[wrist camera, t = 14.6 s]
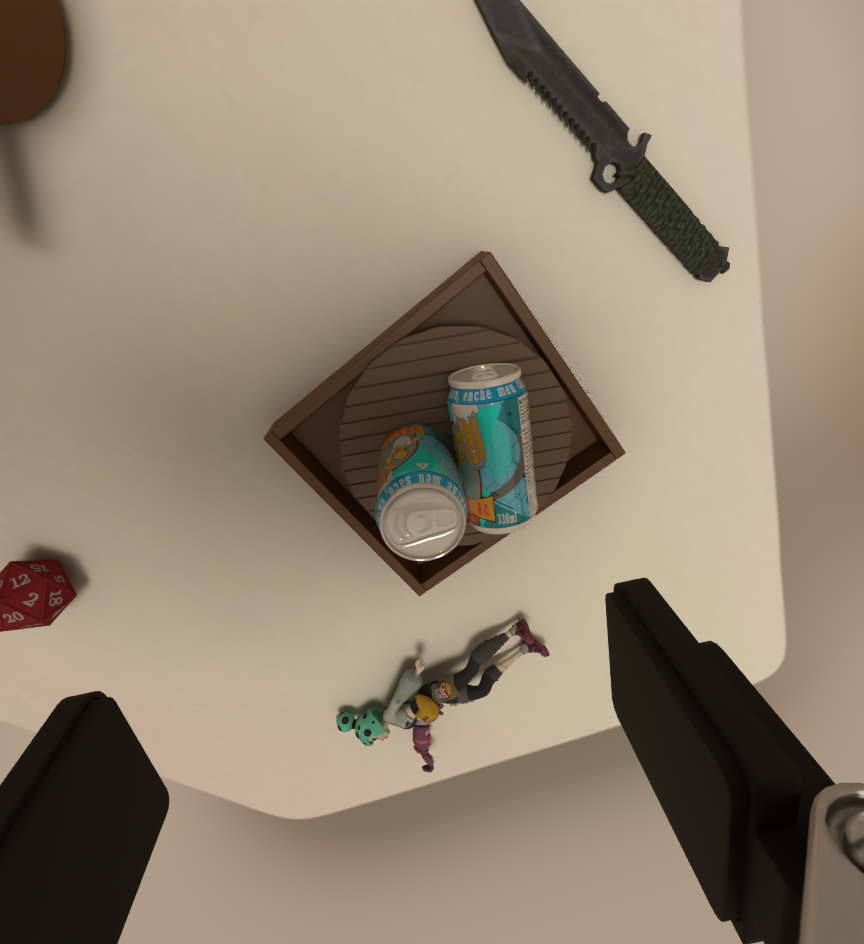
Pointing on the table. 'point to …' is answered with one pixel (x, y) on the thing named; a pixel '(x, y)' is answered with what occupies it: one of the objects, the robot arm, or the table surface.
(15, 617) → the dice
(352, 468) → the blue cans and disc
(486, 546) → the tray
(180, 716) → the table surface
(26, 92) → the mug
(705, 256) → the knife
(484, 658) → the figurine
